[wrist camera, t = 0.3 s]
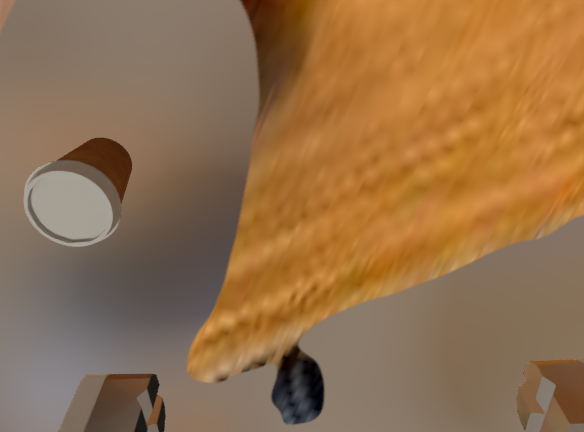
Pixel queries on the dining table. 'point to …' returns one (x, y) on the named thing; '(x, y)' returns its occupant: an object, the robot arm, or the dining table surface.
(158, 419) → the robot arm
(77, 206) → the disposable coffee cup
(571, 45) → the dining table surface
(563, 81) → the dining table surface
